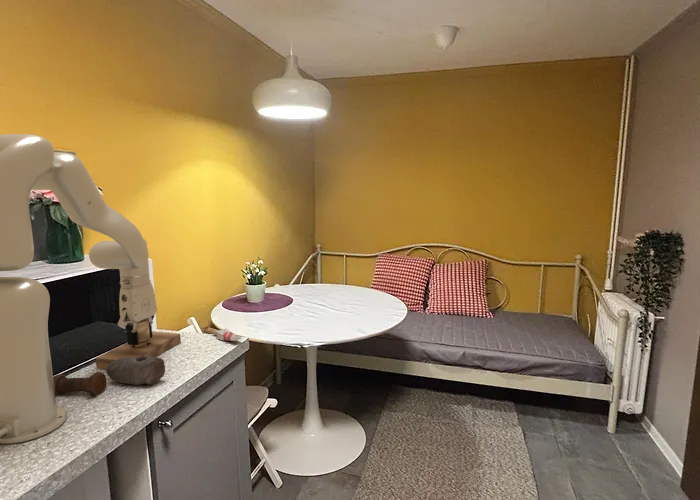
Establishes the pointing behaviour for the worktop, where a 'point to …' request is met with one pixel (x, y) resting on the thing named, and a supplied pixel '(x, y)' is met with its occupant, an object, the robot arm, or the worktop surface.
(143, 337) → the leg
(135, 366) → the perforated stone tool
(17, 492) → the worktop surface
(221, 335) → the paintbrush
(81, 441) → the worktop surface
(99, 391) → the bolt
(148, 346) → the board
